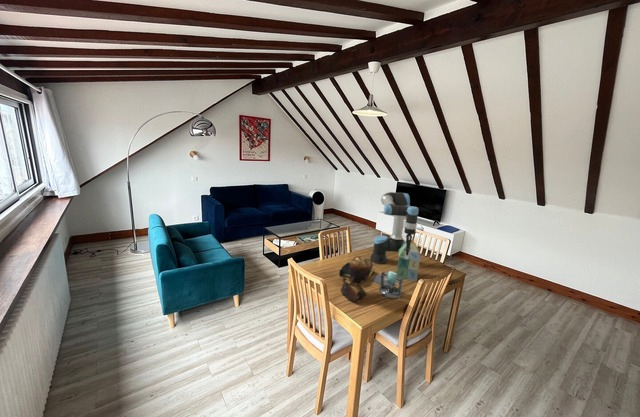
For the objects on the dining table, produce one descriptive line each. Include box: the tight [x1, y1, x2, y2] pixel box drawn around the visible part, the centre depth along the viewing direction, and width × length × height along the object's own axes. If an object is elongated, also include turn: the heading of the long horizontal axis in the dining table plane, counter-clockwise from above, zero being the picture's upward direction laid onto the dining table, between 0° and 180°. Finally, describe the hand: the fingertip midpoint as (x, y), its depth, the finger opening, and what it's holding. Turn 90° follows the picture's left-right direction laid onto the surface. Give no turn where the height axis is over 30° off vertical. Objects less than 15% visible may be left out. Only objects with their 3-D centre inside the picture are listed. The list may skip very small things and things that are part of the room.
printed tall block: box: [396, 239, 422, 282], centre depth 228 cm, size 17×16×30 cm
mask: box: [338, 261, 375, 280], centre depth 226 cm, size 25×6×30 cm
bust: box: [340, 255, 374, 304], centre depth 195 cm, size 21×23×30 cm
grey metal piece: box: [379, 271, 404, 300], centre depth 202 cm, size 16×16×14 cm
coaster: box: [370, 274, 388, 286], centre depth 221 cm, size 13×13×1 cm
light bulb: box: [384, 270, 400, 286], centre depth 201 cm, size 11×7×7 cm, turn 51°
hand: (406, 255), depth 204 cm, fingers open, 13 cm apart
